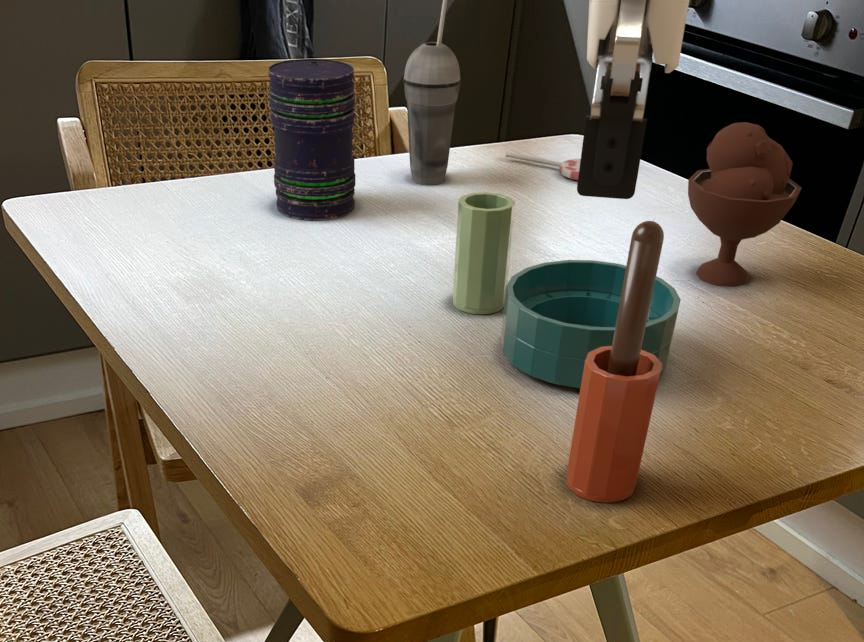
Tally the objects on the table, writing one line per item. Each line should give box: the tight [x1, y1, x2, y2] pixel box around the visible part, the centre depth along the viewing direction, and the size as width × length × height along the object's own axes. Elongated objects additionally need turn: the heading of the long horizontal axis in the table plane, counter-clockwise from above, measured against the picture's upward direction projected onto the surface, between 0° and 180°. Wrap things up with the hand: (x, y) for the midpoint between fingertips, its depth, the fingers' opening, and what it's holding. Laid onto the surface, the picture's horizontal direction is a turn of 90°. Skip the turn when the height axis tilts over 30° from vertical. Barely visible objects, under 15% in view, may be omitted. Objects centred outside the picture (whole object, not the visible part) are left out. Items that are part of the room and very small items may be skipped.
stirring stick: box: [607, 220, 665, 376], centre depth 67 cm, size 2×2×19 cm
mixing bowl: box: [500, 259, 682, 389], centre depth 88 cm, size 15×15×6 cm
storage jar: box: [267, 58, 356, 221], centre depth 114 cm, size 10×10×15 cm
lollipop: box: [505, 151, 581, 181], centre depth 130 cm, size 7×1×15 cm
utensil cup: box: [565, 346, 662, 504], centre depth 71 cm, size 5×5×10 cm
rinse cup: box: [452, 191, 516, 315], centre depth 95 cm, size 5×5×10 cm
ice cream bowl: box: [687, 121, 802, 287], centre depth 99 cm, size 11×11×15 cm
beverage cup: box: [402, 0, 462, 186], centre depth 120 cm, size 7×7×20 cm
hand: (609, 169), depth 58 cm, fingers open, 9 cm apart
